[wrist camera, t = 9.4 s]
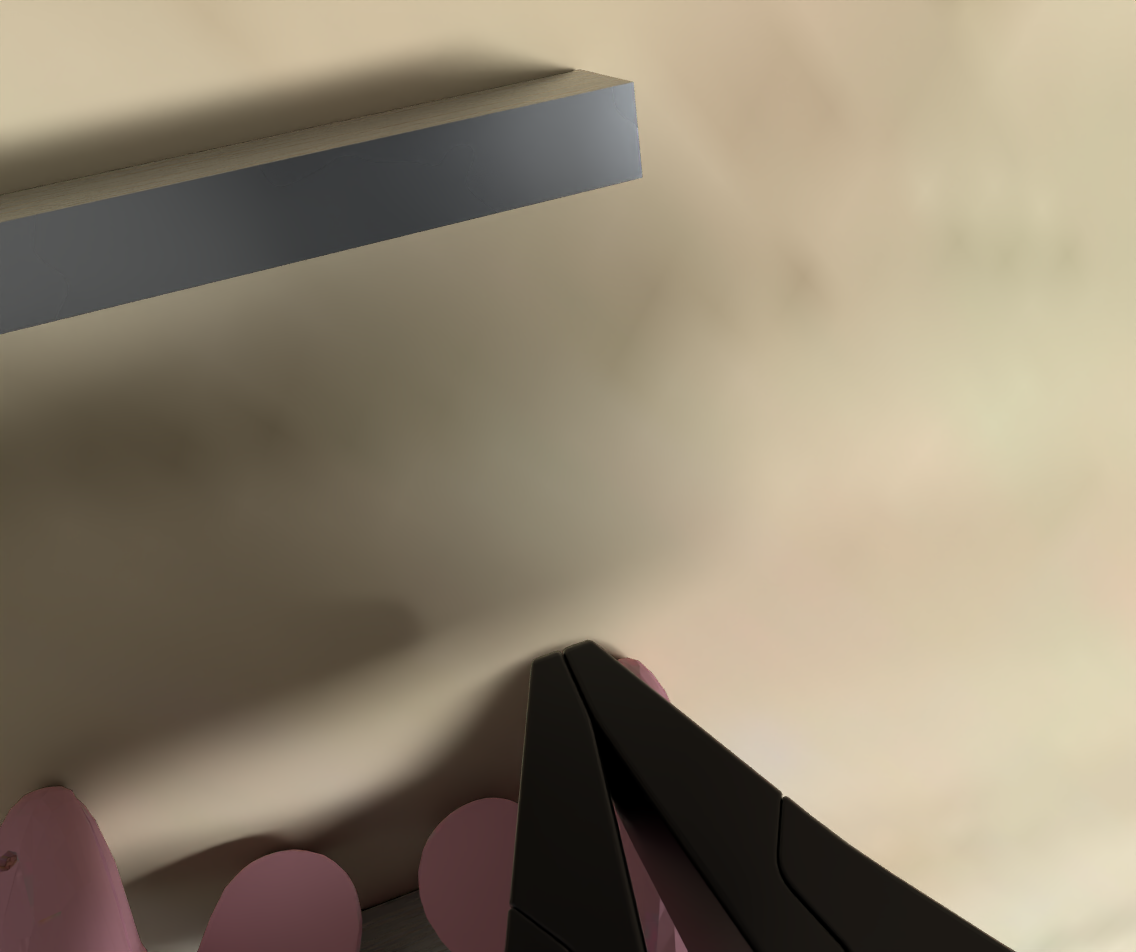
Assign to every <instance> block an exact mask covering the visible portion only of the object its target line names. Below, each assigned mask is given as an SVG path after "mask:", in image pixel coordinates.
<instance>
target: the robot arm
mask: <svg viewBox="0 0 1136 952" xmlns="http://www.w3.org/2000/svg"><path fill="white" fill-rule="evenodd" d="M613 804H614V806H613ZM614 807H615V809H616V811H617V813H618V815H619V818H620V820H621V822H622V824H623V826H624V828H625V830H626V832H627V834H628V836H629V838H630V840H631V841H632V843H633V845H634V847H635V849H636V851H637V853H638V855H639V857H640V859H641V861H642V863H643V865H644V867H645V869H646V871H647V873H648V875H649V877H650V879H651V881H652V882H653V884H654V886H655V888H656V890H657V892H658V894H659V896H660V898H661V900H662V902H663V904H664V906H665V908H666V910H667V912H668V914H669V916H670V918H671V920H672V922H673V923H674V925H675V927H676V929H677V931H678V933H679V935H680V937H681V939H682V941H683V943H684V945H685V947H686V949H687V951H688V952H1015V951H1014V950H1012V949H1011V948H1009V947H1007V946H1006V945H1004V944H1002V943H1001V942H999V941H997V940H996V939H994V938H993V937H991V936H990V935H988V934H987V933H985V932H983V931H982V930H980V929H979V928H977V927H976V926H974V925H972V924H971V923H969V922H968V921H966V920H965V919H963V918H961V917H960V916H958V915H957V914H955V913H954V912H952V911H951V910H949V909H947V908H946V907H944V906H943V905H941V904H940V903H938V902H936V901H935V900H933V899H932V898H930V897H929V896H927V895H925V894H924V893H922V892H921V891H919V890H918V889H916V888H915V887H913V886H911V885H910V884H908V883H907V882H905V881H904V880H902V879H900V878H899V877H897V876H896V875H894V874H893V873H891V872H890V871H888V870H887V869H885V868H884V867H882V866H881V865H879V864H878V863H876V862H875V861H873V860H872V859H870V858H869V857H867V856H866V855H864V854H863V853H861V852H860V851H858V850H857V849H855V848H854V847H853V846H851V845H850V844H848V843H847V842H846V841H844V840H843V839H842V838H840V837H839V836H838V835H836V834H835V833H834V832H832V831H831V830H830V829H828V828H827V827H826V826H824V825H823V824H822V823H820V822H819V821H818V820H816V819H815V818H814V817H812V816H811V815H810V814H809V813H807V812H806V811H805V810H804V809H802V808H801V807H800V806H799V805H798V804H796V803H795V802H794V801H793V800H791V799H790V798H789V797H787V796H785V797H783V798H782V792H781V791H780V790H778V789H777V788H776V787H775V786H773V785H772V784H771V783H770V782H768V781H767V780H766V779H765V778H763V777H762V776H761V775H760V774H758V773H757V772H756V771H755V770H753V769H752V768H751V767H750V766H748V765H747V764H746V763H745V762H743V761H742V760H741V759H740V758H738V757H737V756H736V755H735V754H734V753H732V752H731V751H730V750H729V749H727V748H726V747H725V746H724V745H722V744H721V743H720V742H719V741H717V740H716V739H715V738H714V737H712V736H711V735H710V734H709V733H707V732H706V731H705V730H704V729H702V728H701V727H700V726H699V725H697V724H696V723H695V722H694V721H692V720H691V719H690V718H689V717H687V716H686V715H685V714H684V713H682V712H681V711H680V710H679V709H677V708H676V707H675V706H674V705H672V704H671V703H670V702H669V701H667V700H666V699H665V698H664V697H662V696H661V695H660V694H659V693H657V692H656V691H655V690H654V689H652V688H651V687H650V686H649V685H648V684H646V683H645V682H644V681H643V680H641V679H640V678H639V677H638V676H636V675H635V674H634V673H633V672H631V671H630V670H629V669H628V668H626V667H625V666H624V665H623V664H621V663H620V662H619V661H618V660H616V659H615V658H614V657H613V656H611V655H610V654H609V653H608V652H606V651H605V650H604V649H603V648H601V647H600V646H599V645H598V644H596V643H595V642H593V641H591V640H586V641H583V642H580V643H578V644H575V645H572V646H569V647H567V648H565V649H564V651H563V654H562V653H561V652H559V651H555V652H553V653H550V654H547V655H544V656H541V657H539V658H536V659H534V660H533V661H532V664H531V671H530V681H529V692H528V703H527V714H526V725H525V736H524V747H523V758H522V769H521V780H520V790H519V801H518V812H517V823H516V834H515V845H514V856H513V867H512V878H511V889H510V900H509V905H510V907H511V909H509V911H508V917H507V928H506V939H505V948H504V952H648V949H647V945H646V941H645V936H644V932H643V928H642V924H641V919H640V915H639V911H638V907H637V903H636V898H635V894H634V890H633V886H632V881H631V877H630V873H629V869H628V865H627V860H626V856H625V852H624V848H623V843H622V839H621V835H620V831H619V827H618V822H617V818H616V814H615V810H614Z"/></svg>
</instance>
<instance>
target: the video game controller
mask: <svg viewBox="0 0 1136 952" xmlns="http://www.w3.org/2000/svg"><path fill="white" fill-rule="evenodd" d="M618 661H619V662H620V663H621V664H623V665H624V666H625V667H626V668H628V669H629V670H630V671H631V672H633V673H634V674H635V675H636V676H638V677H639V678H640V679H641V680H643V681H644V682H645V683H646V684H648V685H649V686H650V687H651V688H652V689H654V690H655V691H656V692H657V693H659V694H660V695H661V696H662V697H664V698H665V699H666V700H667V701H669V702H670V700H669V698H668V696H667V694H666V692H665V690H664V689H663V687H662V686H661V685H660V683H659V682H658V680H657V679H656V678H655V676H654V675H653V673H652V672H651V671H649V670H648V669H647V668H646V667H645V666H644V665H643V664H642V663H641V662H640V661H638V660H634V659H630V658H621V659H618ZM613 806H614V804H613ZM614 810H615V814H616V818H617V822H618V827H619V831H620V835H621V839H622V843H623V848H624V852H625V856H626V860H627V865H628V869H629V873H630V877H631V881H632V886H633V890H634V894H635V898H636V903H637V907H638V911H639V915H640V919H641V924H642V928H643V932H644V936H645V941H646V945H647V949H648V952H688V951H687V949H686V947H685V945H684V943H683V941H682V939H681V937H680V935H679V933H678V931H677V929H676V927H675V925H674V923H673V922H672V920H671V918H670V916H669V914H668V912H667V910H666V908H665V906H664V904H663V902H662V900H661V898H660V896H659V894H658V892H657V890H656V888H655V886H654V884H653V882H652V881H651V879H650V877H649V875H648V873H647V871H646V869H645V867H644V865H643V863H642V861H641V859H640V857H639V855H638V853H637V851H636V849H635V847H634V845H633V843H632V841H631V840H630V838H629V836H628V834H627V832H626V830H625V828H624V826H623V824H622V822H621V820H620V818H619V815H618V813H617V811H616V809H615V807H614ZM517 812H518V803H516V802H514V801H511V800H507V799H503V798H484V799H479V800H474V801H472V802H470V803H467V804H465V805H463V806H461V807H459V808H458V809H456V810H455V811H453V812H452V813H450V814H449V815H448V816H447V817H446V818H445V819H444V820H442V821H441V822H440V823H439V824H438V825H437V827H436V828H435V829H434V831H433V832H432V833H431V835H430V836H429V838H428V840H427V842H426V844H425V847H424V849H423V852H422V856H421V861H420V865H419V870H418V883H419V894H420V899H421V902H422V905H423V908H424V911H425V915H426V917H427V919H428V921H429V922H430V924H431V926H432V927H433V929H434V930H435V932H436V933H437V935H438V937H439V938H440V940H441V941H442V942H443V943H444V945H445V946H446V947H447V948H448V949H449V950H450V951H451V952H504V948H505V939H506V928H507V917H508V911H509V909H511V907H510V905H509V900H510V889H511V878H512V867H513V856H514V845H515V834H516V823H517ZM361 937H362V914H361V907H360V903H359V899H358V893H357V890H356V888H355V887H354V885H353V883H352V881H351V879H350V877H349V876H348V874H347V873H346V872H345V871H344V870H343V869H342V868H341V867H340V866H339V865H338V864H337V863H336V862H334V861H333V860H331V859H329V858H328V857H326V856H325V855H322V854H318V853H314V852H311V851H307V850H296V849H291V850H285V851H279V852H274V853H272V854H268V855H265V856H263V857H261V858H259V859H257V860H255V861H253V862H251V863H250V864H248V865H247V866H246V867H245V868H243V869H242V870H241V871H240V872H239V873H238V874H237V875H236V876H235V877H234V878H233V879H232V880H231V882H230V883H229V884H228V885H227V886H226V887H225V889H224V891H223V893H222V895H221V897H220V899H219V901H218V903H217V905H216V907H215V909H214V911H213V913H212V915H211V917H210V920H209V922H208V925H207V928H206V930H205V933H204V935H203V938H202V941H201V943H200V946H199V948H198V951H197V952H359V950H360V945H361ZM0 952H147V950H146V949H145V947H144V946H143V944H142V943H141V941H140V938H139V935H138V931H137V928H136V925H135V922H134V919H133V916H132V913H131V910H130V906H129V903H128V900H127V897H126V894H125V891H124V888H123V885H122V881H121V878H120V875H119V872H118V869H117V866H116V863H115V860H114V858H113V856H112V854H111V852H110V850H109V848H108V846H107V844H106V841H105V839H104V837H103V835H102V833H101V831H100V829H99V827H98V825H97V823H96V821H95V819H94V818H93V816H92V815H91V814H90V812H89V811H88V810H87V808H86V807H85V805H84V804H83V803H81V802H80V801H79V800H78V799H77V798H76V797H75V795H74V793H73V791H72V790H70V789H67V788H65V787H62V786H55V787H45V788H41V789H38V790H35V791H33V792H30V793H28V794H26V795H24V796H23V797H22V798H21V799H20V800H19V801H18V802H17V803H16V804H15V805H14V806H13V807H12V808H11V809H10V810H9V812H8V814H7V816H6V817H5V819H4V821H3V823H2V825H1V827H0Z"/></svg>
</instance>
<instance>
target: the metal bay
mask: <svg viewBox="0 0 1136 952" xmlns="http://www.w3.org/2000/svg"><path fill="white" fill-rule="evenodd" d="M639 178H642V167H641V157H640V146H639V136H638V125H637V115H636V104H635V93H634V83H633V82H631V81H627V80H623V79H618V78H614V77H610V76H606V75H601V74H597V73H593V72H589V71H584V70H576V71H571V72H567V73H562V74H557V75H553V76H548V77H543V78H539V79H534V80H530V81H525V82H520V83H516V84H511V85H507V86H502V87H497V88H493V89H488V90H483V91H479V92H474V93H470V94H465V95H460V96H456V97H451V98H446V99H442V100H437V101H433V102H428V103H423V104H419V105H414V106H409V107H405V108H400V109H396V110H391V111H386V112H382V113H377V114H372V115H368V116H363V117H359V118H354V119H349V120H345V121H340V122H336V123H331V124H326V125H322V126H317V127H312V128H308V129H303V130H299V131H294V132H289V133H285V134H280V135H275V136H271V137H266V138H262V139H257V140H252V141H248V142H243V143H238V144H234V145H229V146H225V147H220V148H215V149H211V150H206V151H201V152H197V153H192V154H188V155H183V156H178V157H174V158H169V159H165V160H160V161H155V162H151V163H146V164H141V165H137V166H132V167H128V168H123V169H118V170H114V171H109V172H104V173H100V174H95V175H91V176H86V177H81V178H77V179H72V180H67V181H63V182H58V183H54V184H49V185H44V186H40V187H35V188H30V189H26V190H21V191H17V192H12V193H7V194H3V195H0V334H3V333H7V332H12V331H16V330H20V329H24V328H28V327H32V326H36V325H40V324H44V323H48V322H53V321H57V320H61V319H65V318H69V317H73V316H77V315H81V314H85V313H89V312H94V311H98V310H102V309H106V308H110V307H114V306H118V305H122V304H126V303H130V302H135V301H139V300H143V299H147V298H151V297H155V296H159V295H163V294H167V293H171V292H175V291H180V290H184V289H188V288H192V287H196V286H200V285H204V284H208V283H212V282H216V281H221V280H225V279H229V278H233V277H237V276H241V275H245V274H249V273H253V272H257V271H262V270H266V269H270V268H274V267H278V266H282V265H286V264H290V263H294V262H298V261H303V260H307V259H311V258H315V257H319V256H323V255H327V254H331V253H335V252H339V251H343V250H348V249H352V248H356V247H360V246H364V245H368V244H372V243H376V242H380V241H384V240H389V239H393V238H397V237H401V236H405V235H409V234H413V233H417V232H421V231H425V230H430V229H434V228H438V227H442V226H446V225H450V224H454V223H458V222H462V221H466V220H471V219H475V218H479V217H483V216H487V215H491V214H495V213H499V212H503V211H507V210H511V209H516V208H520V207H524V206H528V205H532V204H536V203H540V202H544V201H548V200H552V199H557V198H561V197H565V196H569V195H573V194H577V193H581V192H585V191H589V190H593V189H598V188H602V187H606V186H610V185H614V184H618V183H622V182H626V181H630V180H634V179H639ZM361 914H362V937H361V945H360V950H359V952H451V951H450V950H449V949H448V948H447V947H446V946H445V945H444V943H443V942H442V941H441V940H440V938H439V937H438V935H437V933H436V932H435V930H434V929H433V927H432V926H431V924H430V922H429V921H428V919H427V917H426V915H425V911H424V908H423V905H422V902H421V899H420V894H419V890H417V891H414V892H412V893H409V894H407V895H404V896H401V897H399V898H396V899H394V900H391V901H388V902H386V903H383V904H381V905H378V906H375V907H373V908H370V909H368V910H365V911H363V912H361Z"/></svg>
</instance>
